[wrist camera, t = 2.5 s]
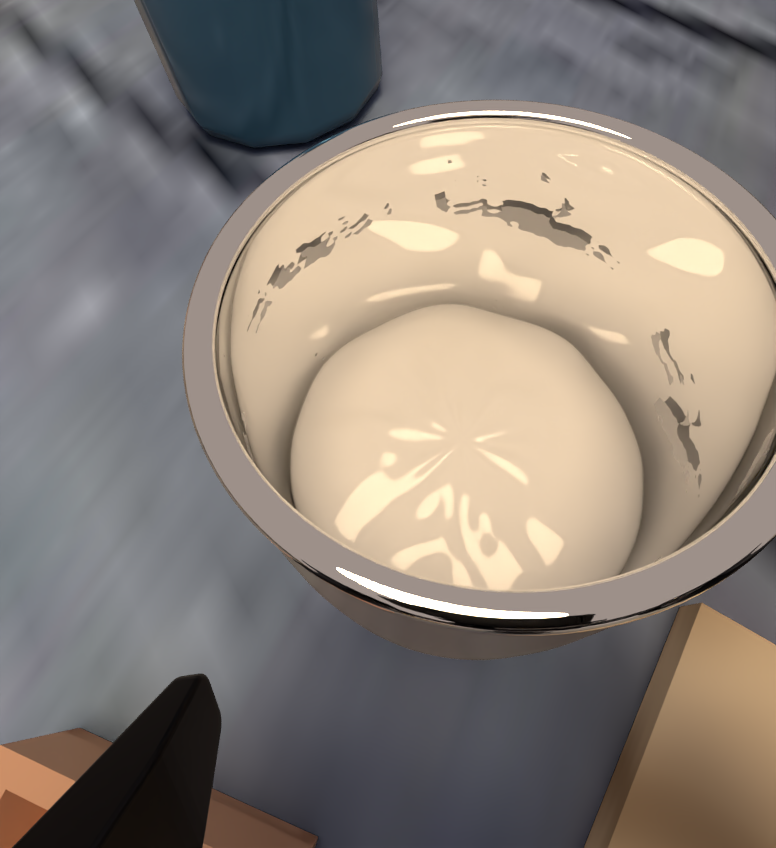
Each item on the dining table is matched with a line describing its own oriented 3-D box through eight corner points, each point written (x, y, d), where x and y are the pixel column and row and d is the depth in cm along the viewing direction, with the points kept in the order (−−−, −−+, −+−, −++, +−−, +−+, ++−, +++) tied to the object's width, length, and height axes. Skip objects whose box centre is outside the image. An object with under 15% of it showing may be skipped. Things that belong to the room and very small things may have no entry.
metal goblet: (489, 446, 20) (620, 35, 7) (568, 615, 17) (1079, 484, 4) (329, 501, 20) (126, 173, 6) (384, 685, 17) (223, 821, 3)
